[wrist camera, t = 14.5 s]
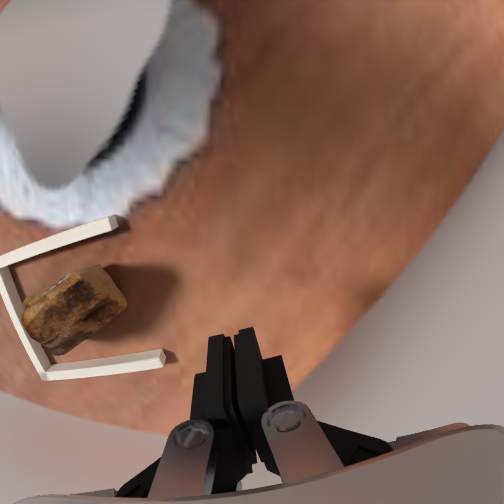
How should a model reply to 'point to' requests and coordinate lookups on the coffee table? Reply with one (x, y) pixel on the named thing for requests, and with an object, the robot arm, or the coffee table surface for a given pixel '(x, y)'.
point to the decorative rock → (72, 309)
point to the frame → (5, 285)
